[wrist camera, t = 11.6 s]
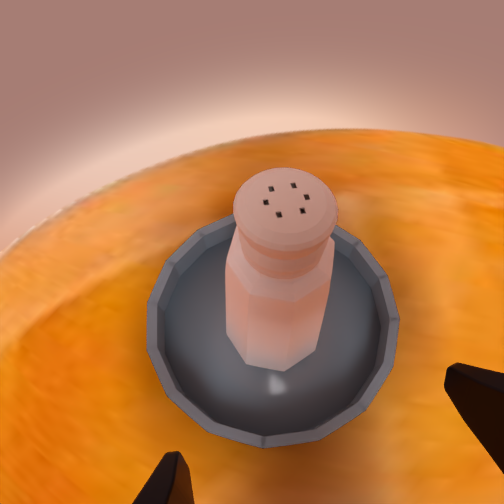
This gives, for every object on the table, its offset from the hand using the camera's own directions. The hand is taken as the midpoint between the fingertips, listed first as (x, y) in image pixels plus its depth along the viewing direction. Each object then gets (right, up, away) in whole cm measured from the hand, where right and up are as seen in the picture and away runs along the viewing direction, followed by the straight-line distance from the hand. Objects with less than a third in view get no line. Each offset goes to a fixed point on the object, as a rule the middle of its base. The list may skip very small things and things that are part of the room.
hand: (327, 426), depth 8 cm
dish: (-1, +1, +10) cm, 10 cm away
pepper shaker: (-1, +1, +10) cm, 10 cm away
